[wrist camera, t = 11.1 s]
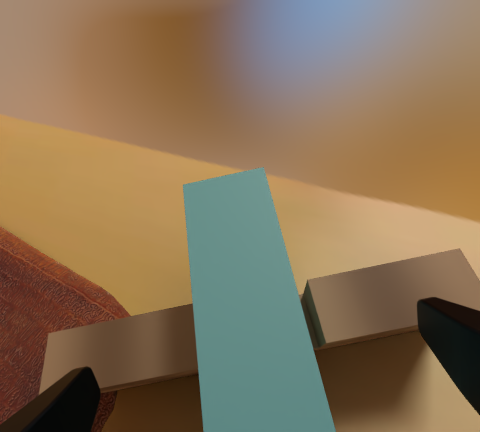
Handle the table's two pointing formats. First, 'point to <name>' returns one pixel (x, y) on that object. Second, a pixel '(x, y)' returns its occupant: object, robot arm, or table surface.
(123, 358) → the walnut notched bar
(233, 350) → the teal flat block
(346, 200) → the table surface
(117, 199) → the table surface
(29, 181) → the table surface
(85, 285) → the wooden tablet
